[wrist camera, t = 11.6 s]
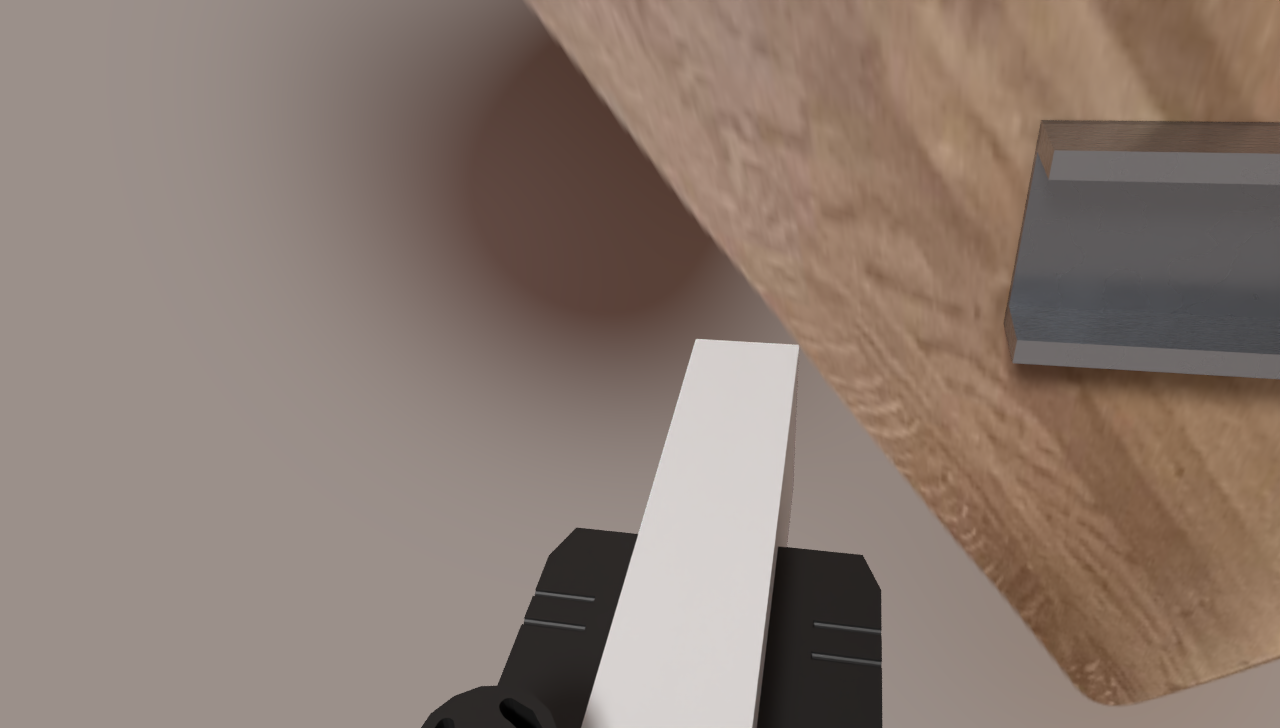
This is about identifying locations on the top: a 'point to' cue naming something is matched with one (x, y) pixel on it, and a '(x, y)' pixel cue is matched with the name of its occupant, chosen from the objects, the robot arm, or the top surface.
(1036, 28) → the top surface
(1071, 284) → the chute
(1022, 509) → the top surface
